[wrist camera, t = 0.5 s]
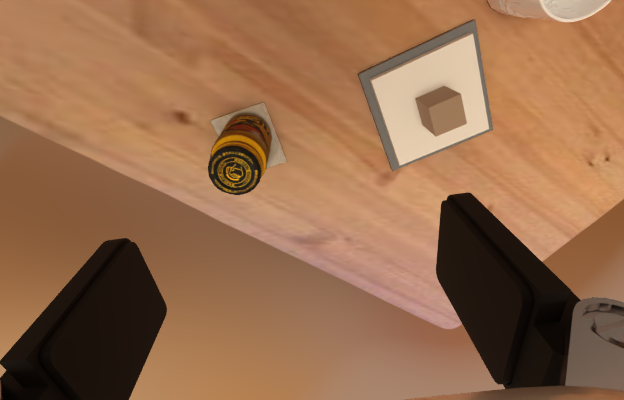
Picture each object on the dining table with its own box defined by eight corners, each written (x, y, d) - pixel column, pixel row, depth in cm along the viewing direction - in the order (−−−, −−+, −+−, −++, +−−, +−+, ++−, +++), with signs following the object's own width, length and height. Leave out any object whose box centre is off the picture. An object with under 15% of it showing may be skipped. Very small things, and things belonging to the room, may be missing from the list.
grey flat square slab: (357, 73, 39) (358, 74, 39) (472, 19, 37) (475, 19, 36) (391, 169, 46) (392, 170, 45) (490, 128, 43) (493, 129, 43)
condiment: (263, 101, 40) (253, 131, 30) (287, 161, 44) (284, 205, 34) (210, 120, 41) (182, 155, 31) (238, 176, 45) (221, 224, 35)
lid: (369, 78, 39) (380, 88, 34) (468, 32, 37) (494, 35, 32) (397, 162, 44) (410, 180, 40) (484, 126, 42) (509, 140, 38)
